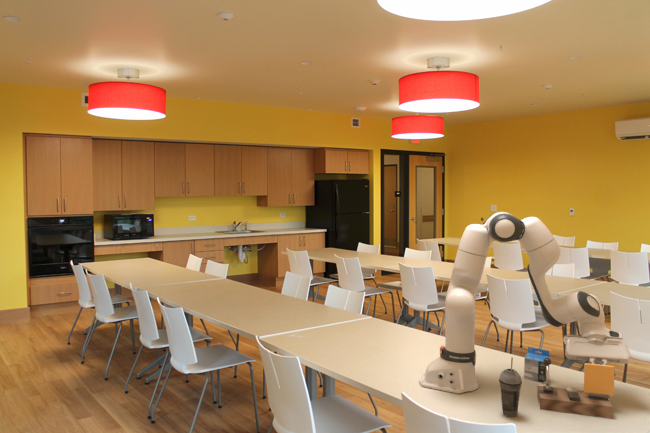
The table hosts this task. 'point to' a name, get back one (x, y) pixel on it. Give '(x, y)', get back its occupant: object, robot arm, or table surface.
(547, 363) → the steel toggle lever
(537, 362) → the label tape box
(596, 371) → the orange paddle
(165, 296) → the table surface
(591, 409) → the control panel
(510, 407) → the beverage cup
